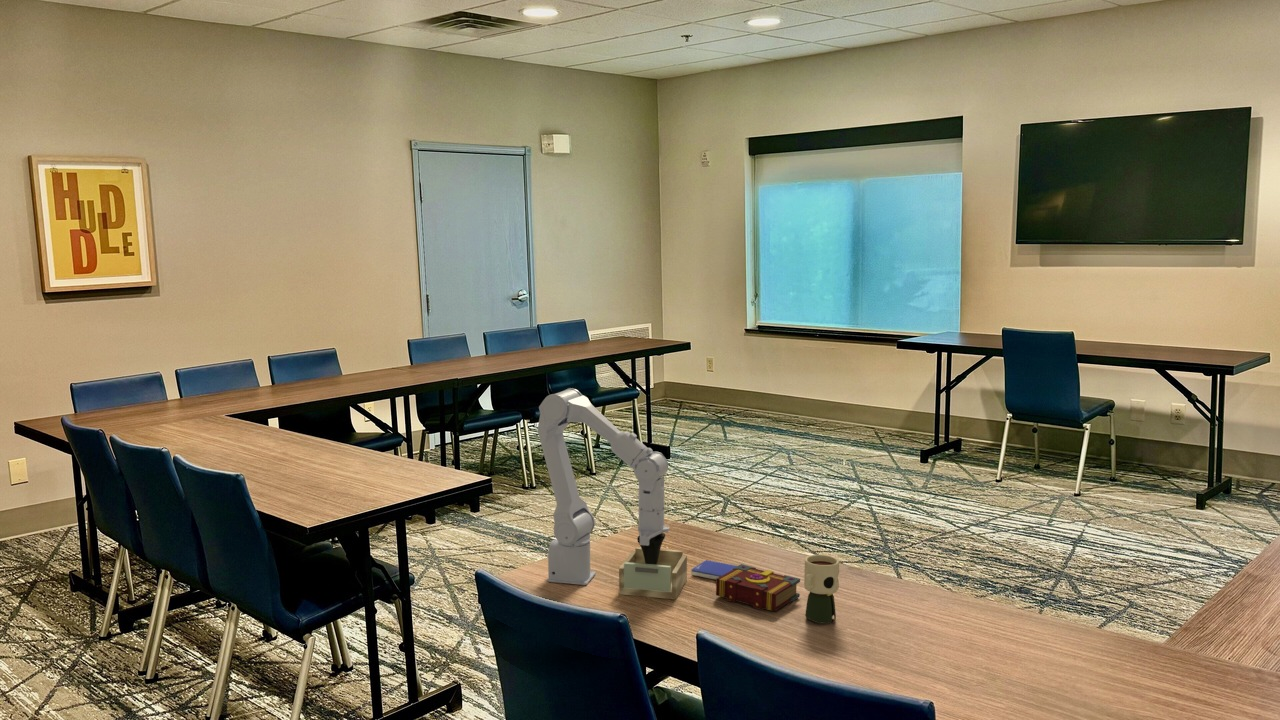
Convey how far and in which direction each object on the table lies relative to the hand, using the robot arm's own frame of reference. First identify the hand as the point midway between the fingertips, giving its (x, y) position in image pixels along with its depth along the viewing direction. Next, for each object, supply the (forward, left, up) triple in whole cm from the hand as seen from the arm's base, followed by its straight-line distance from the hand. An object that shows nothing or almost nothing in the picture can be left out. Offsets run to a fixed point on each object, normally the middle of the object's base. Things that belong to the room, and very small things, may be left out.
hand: (651, 566), depth 221 cm
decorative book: (+23, +1, -6) cm, 24 cm away
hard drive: (+14, +13, -6) cm, 20 cm away
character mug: (+38, -8, -6) cm, 39 cm away
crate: (0, +2, -6) cm, 6 cm away
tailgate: (0, -4, -4) cm, 6 cm away
